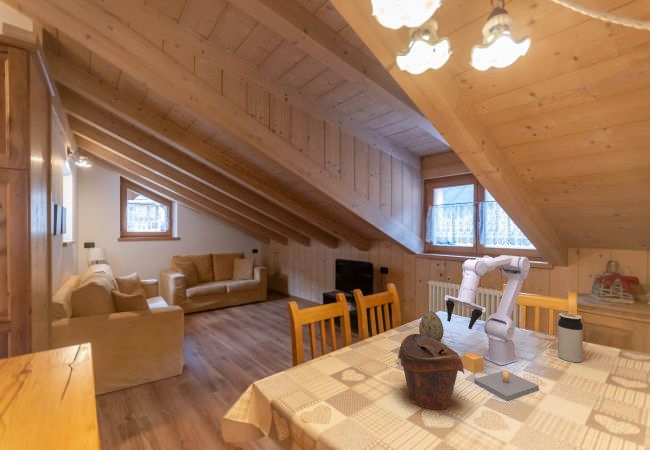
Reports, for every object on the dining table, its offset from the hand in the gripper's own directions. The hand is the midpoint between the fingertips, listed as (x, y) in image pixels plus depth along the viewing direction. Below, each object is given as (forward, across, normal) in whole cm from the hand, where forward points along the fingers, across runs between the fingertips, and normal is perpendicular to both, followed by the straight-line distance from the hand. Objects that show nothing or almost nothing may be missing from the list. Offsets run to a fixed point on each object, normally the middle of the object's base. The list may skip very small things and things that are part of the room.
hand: (459, 325), depth 116 cm
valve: (+20, -11, +8) cm, 25 cm away
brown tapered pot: (+25, -6, -16) cm, 30 cm away
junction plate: (+14, +18, -4) cm, 23 cm away
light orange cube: (+14, +10, +8) cm, 19 cm away
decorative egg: (+12, -3, +31) cm, 33 cm away
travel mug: (-2, +50, +26) cm, 56 cm away
